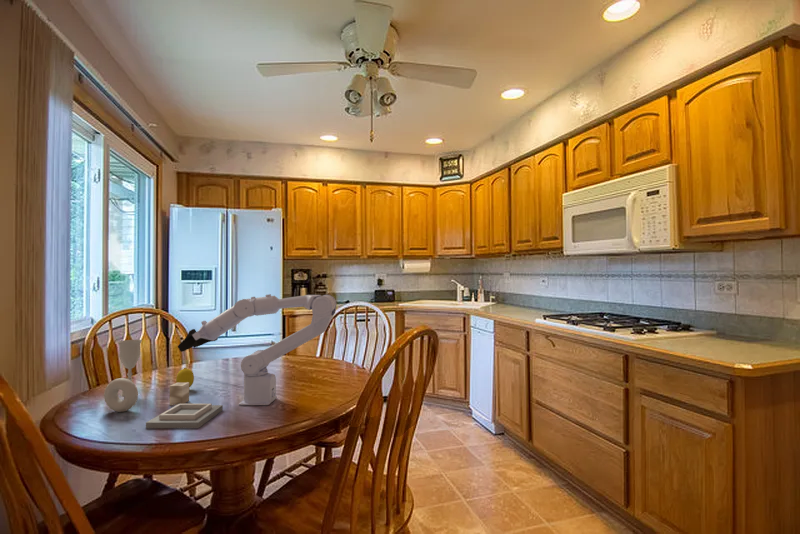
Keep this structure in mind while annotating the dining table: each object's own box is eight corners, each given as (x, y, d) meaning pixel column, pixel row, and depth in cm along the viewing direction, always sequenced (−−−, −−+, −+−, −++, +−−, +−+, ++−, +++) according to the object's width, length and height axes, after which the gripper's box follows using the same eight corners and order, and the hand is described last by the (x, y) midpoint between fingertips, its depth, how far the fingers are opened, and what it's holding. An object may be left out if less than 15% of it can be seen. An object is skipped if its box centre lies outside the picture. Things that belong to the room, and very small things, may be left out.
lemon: (186, 393, 138) (186, 369, 138) (172, 392, 139) (172, 369, 139) (197, 388, 143) (197, 366, 143) (184, 387, 144) (184, 365, 144)
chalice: (112, 395, 135) (112, 342, 136) (132, 390, 142) (132, 339, 142) (126, 397, 133) (127, 343, 133) (146, 392, 139) (146, 340, 139)
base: (222, 410, 120) (222, 401, 120) (198, 428, 106) (198, 417, 106) (176, 410, 120) (176, 401, 120) (145, 428, 106) (145, 417, 106)
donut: (100, 413, 118) (101, 379, 118) (110, 409, 121) (110, 376, 122) (131, 414, 117) (132, 379, 117) (140, 410, 120) (141, 376, 120)
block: (189, 401, 129) (189, 382, 129) (182, 405, 125) (182, 385, 125) (176, 401, 129) (176, 382, 129) (169, 405, 125) (169, 385, 125)
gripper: (225, 311, 135) (191, 333, 135) (204, 315, 121) (166, 339, 121) (236, 328, 135) (202, 351, 135) (216, 334, 121) (178, 359, 120)
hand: (186, 347), depth 128 cm, fingers open, 7 cm apart
